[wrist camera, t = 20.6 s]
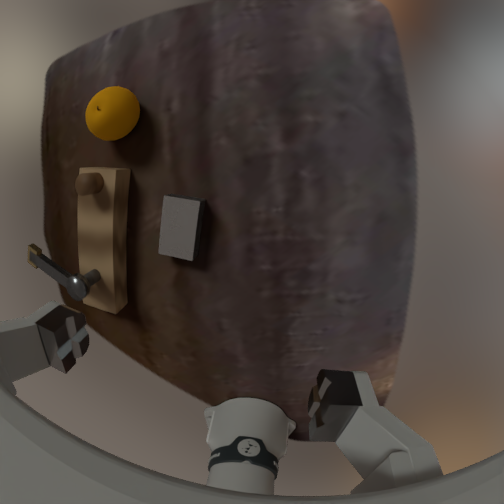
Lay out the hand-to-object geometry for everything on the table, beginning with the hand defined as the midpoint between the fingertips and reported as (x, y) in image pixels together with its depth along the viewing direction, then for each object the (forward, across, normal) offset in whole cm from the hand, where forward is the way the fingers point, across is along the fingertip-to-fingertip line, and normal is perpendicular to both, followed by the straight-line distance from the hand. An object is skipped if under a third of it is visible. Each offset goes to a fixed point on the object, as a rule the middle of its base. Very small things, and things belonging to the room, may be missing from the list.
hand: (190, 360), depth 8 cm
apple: (+29, +22, -12) cm, 39 cm away
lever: (+21, +28, +11) cm, 36 cm away
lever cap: (+30, +10, +3) cm, 31 cm away
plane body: (+29, +23, +7) cm, 38 cm away
